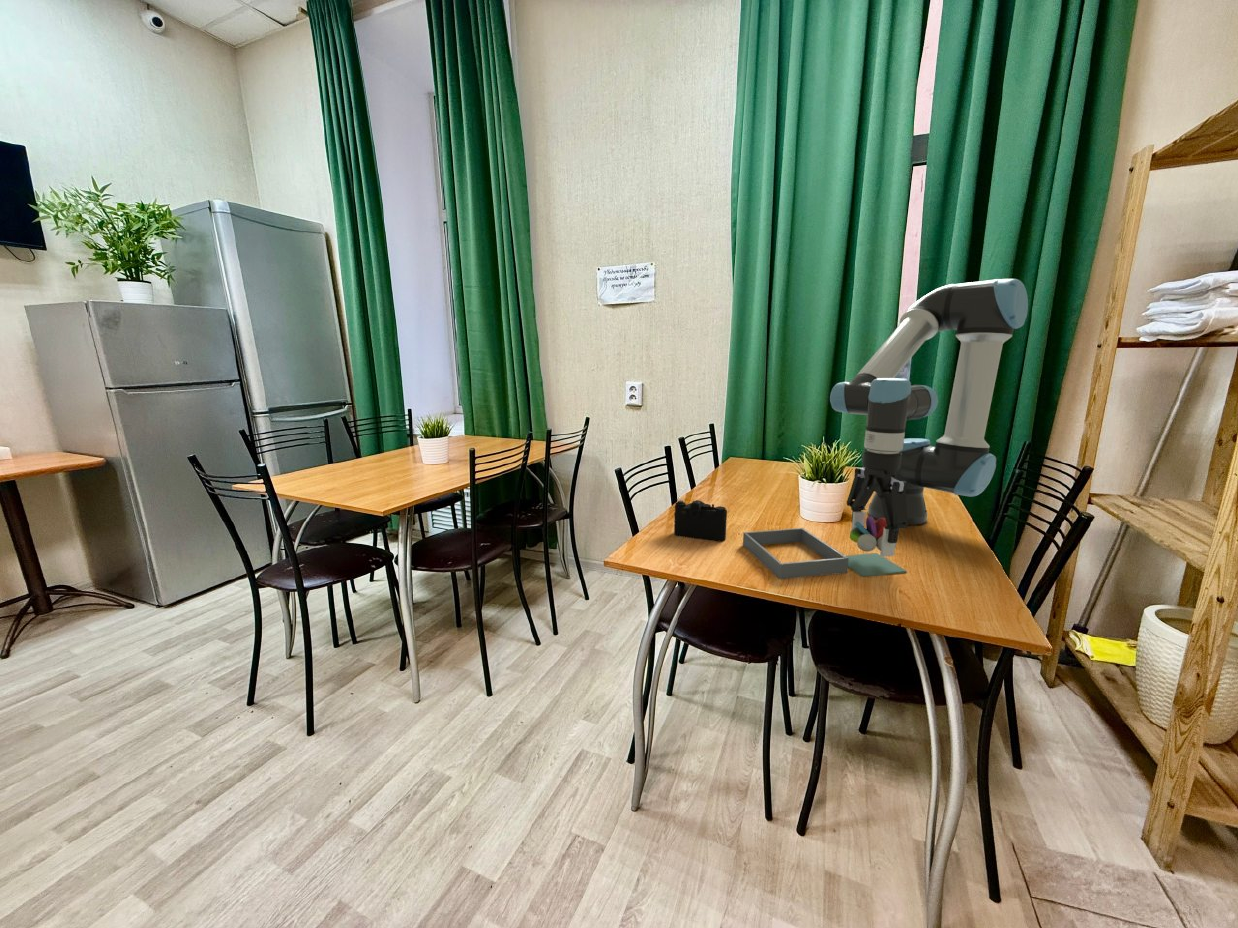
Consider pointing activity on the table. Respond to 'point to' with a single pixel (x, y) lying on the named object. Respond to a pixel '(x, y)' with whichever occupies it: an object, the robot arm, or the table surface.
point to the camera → (700, 521)
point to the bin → (829, 565)
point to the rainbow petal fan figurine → (869, 534)
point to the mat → (872, 565)
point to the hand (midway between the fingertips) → (871, 546)
